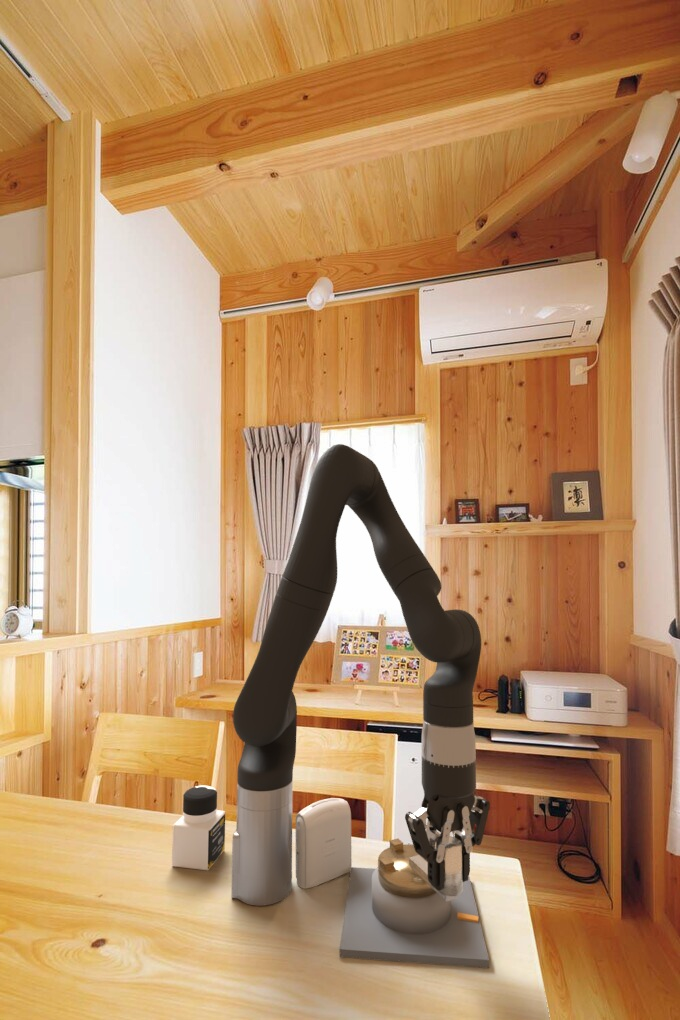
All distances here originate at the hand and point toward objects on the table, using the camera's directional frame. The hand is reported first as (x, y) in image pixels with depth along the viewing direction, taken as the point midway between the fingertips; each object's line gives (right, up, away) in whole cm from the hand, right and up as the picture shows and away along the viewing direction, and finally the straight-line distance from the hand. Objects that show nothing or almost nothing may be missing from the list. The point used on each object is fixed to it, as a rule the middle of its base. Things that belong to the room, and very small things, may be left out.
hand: (449, 882), depth 75 cm
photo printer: (-18, -12, +18) cm, 28 cm away
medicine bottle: (-41, -12, +24) cm, 49 cm away
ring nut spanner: (-3, -5, +6) cm, 8 cm away
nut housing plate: (-4, -11, +8) cm, 14 cm away
